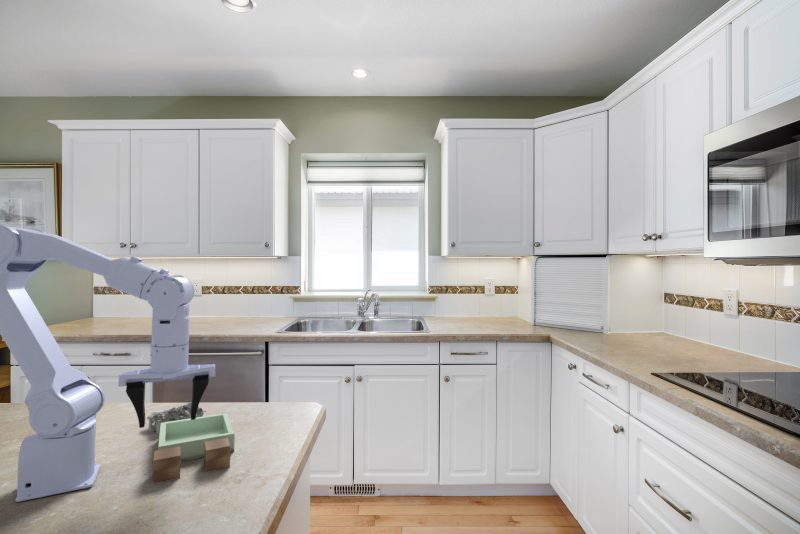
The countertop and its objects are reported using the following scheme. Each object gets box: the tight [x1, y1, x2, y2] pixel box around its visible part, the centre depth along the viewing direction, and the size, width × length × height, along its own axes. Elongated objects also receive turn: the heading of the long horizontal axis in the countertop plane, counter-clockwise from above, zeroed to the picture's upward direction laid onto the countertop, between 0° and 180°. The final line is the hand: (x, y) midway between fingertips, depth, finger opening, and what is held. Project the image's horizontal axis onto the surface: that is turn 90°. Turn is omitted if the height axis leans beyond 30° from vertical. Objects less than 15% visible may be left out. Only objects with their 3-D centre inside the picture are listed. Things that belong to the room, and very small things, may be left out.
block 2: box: [203, 438, 231, 473], centre depth 73 cm, size 4×4×4 cm
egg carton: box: [146, 401, 206, 435], centre depth 91 cm, size 11×8×4 cm
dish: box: [157, 412, 235, 463], centre depth 81 cm, size 13×13×4 cm
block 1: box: [152, 446, 182, 485], centre depth 69 cm, size 4×4×4 cm
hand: (168, 421), depth 69 cm, fingers open, 7 cm apart
